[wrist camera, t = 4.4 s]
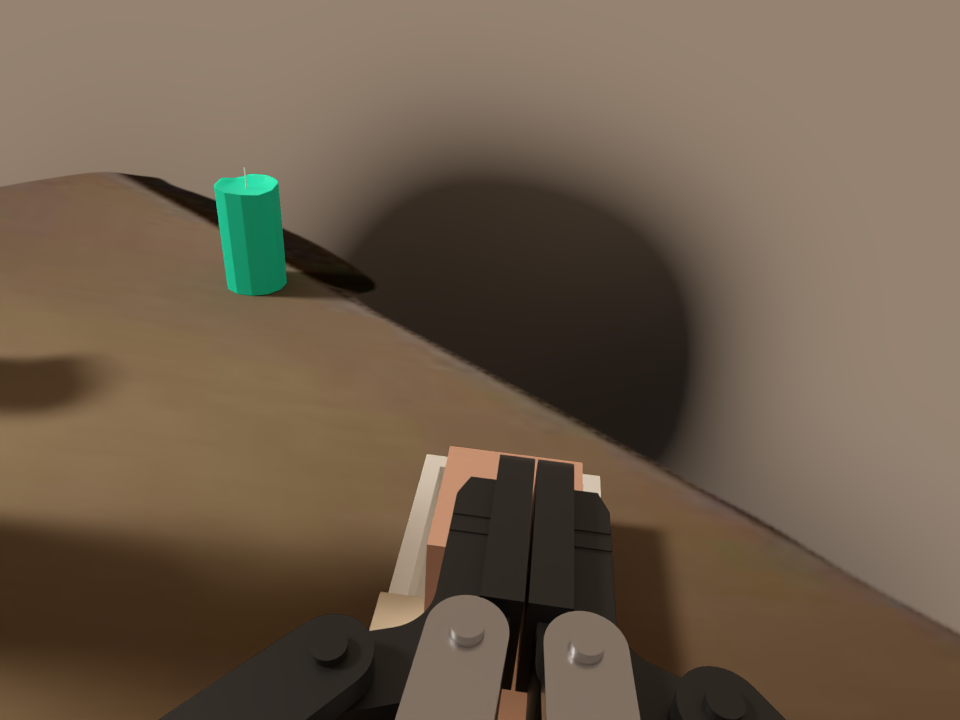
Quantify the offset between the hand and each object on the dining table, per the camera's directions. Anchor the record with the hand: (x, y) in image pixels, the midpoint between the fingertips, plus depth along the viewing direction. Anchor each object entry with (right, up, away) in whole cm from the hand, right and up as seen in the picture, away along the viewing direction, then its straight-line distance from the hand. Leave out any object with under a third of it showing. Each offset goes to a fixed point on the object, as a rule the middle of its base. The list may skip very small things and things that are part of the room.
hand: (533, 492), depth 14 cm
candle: (-24, +10, +58) cm, 64 cm away
